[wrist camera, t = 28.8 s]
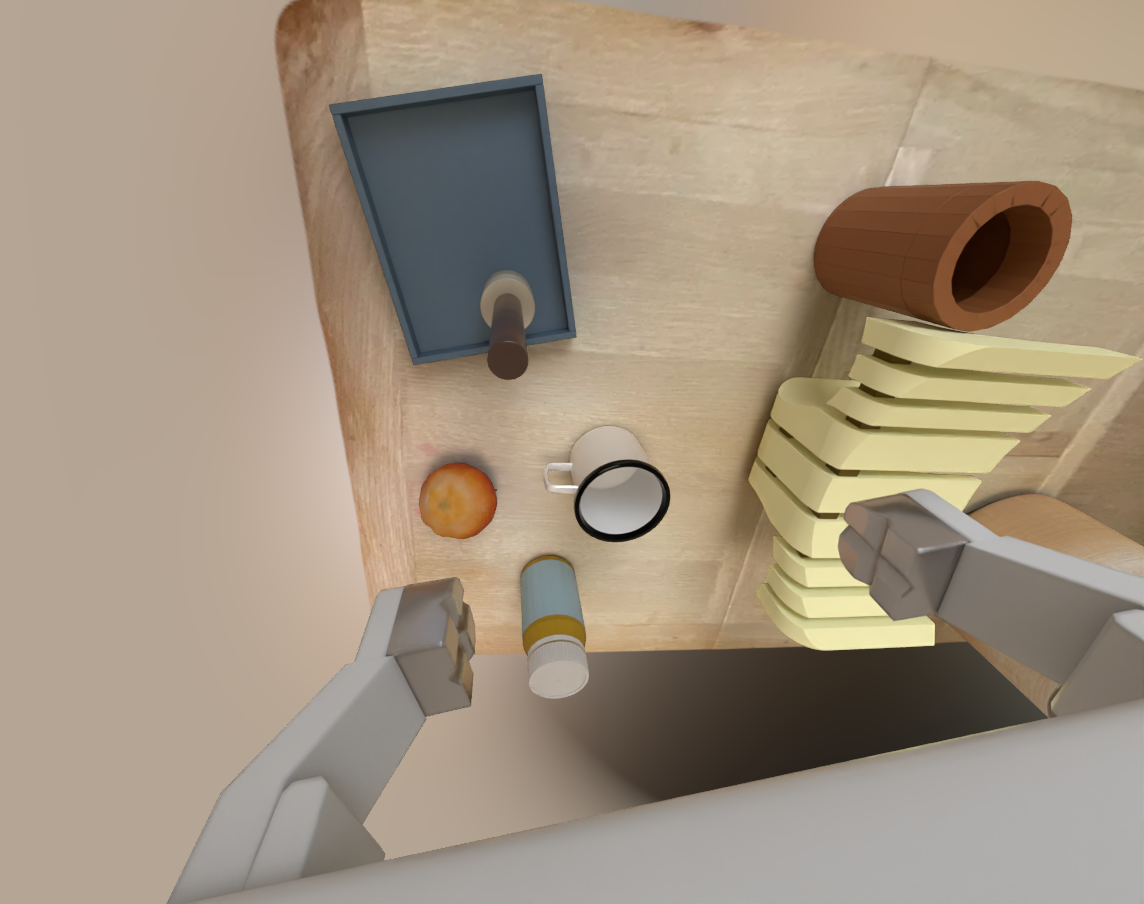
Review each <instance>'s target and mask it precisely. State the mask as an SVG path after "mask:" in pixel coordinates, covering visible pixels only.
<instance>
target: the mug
mask: <svg viewBox="0 0 1144 904" xmlns="http://www.w3.org/2000/svg"><path fill="white" fill-rule="evenodd" d="M552 470H554V471H570V472H571V475H572V479H573V483H574V485H552V484H550V483H549V479H548V471H552ZM544 483H545V488H546V490H547V491H549V492H552V493H564V494H575V497H574V513H575V517H576V519H577V521H578V523H579V525H580V527H581V528H582V529H583V530H584V531H585V532H586V533H588V534H589V535H590V536H592V537H594V538H596V539H599V540H602V541H606V542H625V541H629V540H633V539H636V538H638V537H641V536H643V535H645V534H646V533H648V532H650V531H651V530H652V529H653V528H655V527H656V526H657V525H658V524H659V523H660V521H661V520H662V519H663V517H664V516H665V514H666V512H667V510H668V507H669V503H670V489H669V486H668V484H667V481H666V479H665V477H664V476H663V474H662V473H661V472H660V471H659V470H658V469H657V468H656V467H654V466H652V465H651V463H650V462H649V460H648V458H647V456H646V454H645V452H644V450H643V449H642V447H641V445H640V443H639V441H638V440H637V438H636V437H635V436H634V435H633V434H632V433H631V432H629V431H627V430H626V429H623V428H620V427H615V426H603V427H599V428H595V429H593V430H590V431H589V432H587V433H585V434H584V435H583V436H581V437H580V438H579V439H578V440H577V442H576V443H575V444H574V446H573V448H572V450H571V453H570V457H569V463H548V464H546V465H545V467H544Z"/></svg>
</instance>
